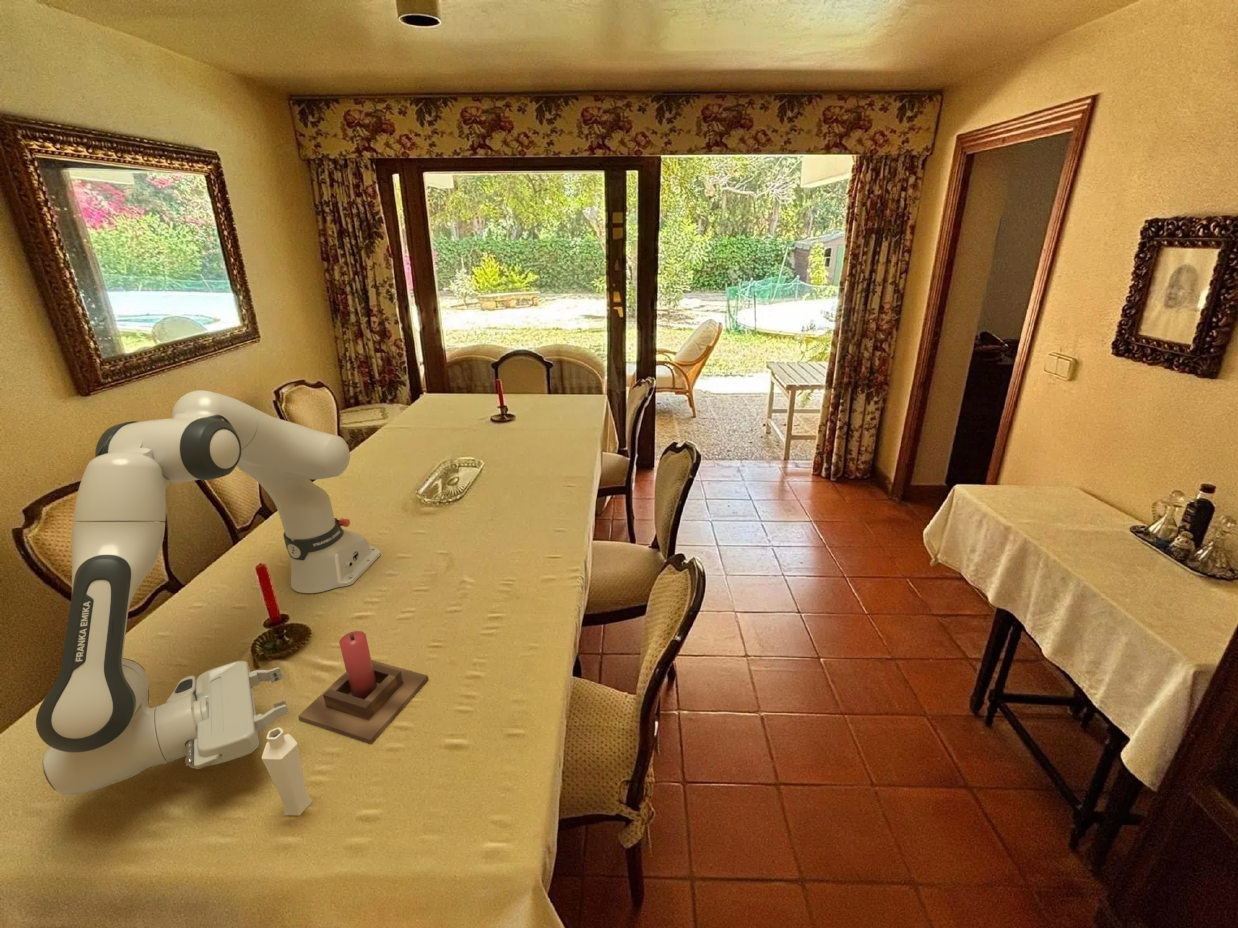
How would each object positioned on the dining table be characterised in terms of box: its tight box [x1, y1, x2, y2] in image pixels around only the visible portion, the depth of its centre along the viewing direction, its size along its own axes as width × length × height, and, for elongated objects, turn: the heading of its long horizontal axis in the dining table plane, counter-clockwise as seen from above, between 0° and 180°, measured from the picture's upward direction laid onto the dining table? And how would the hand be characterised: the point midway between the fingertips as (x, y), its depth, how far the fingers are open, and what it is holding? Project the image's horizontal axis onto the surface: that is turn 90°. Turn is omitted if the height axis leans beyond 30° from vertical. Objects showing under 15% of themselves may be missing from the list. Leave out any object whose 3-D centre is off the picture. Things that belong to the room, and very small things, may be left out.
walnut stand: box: [297, 659, 429, 745], centre depth 108 cm, size 16×16×4 cm
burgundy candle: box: [338, 630, 377, 700], centre depth 106 cm, size 4×4×14 cm
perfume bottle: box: [261, 726, 313, 816], centre depth 86 cm, size 5×4×15 cm
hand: (284, 688), depth 99 cm, fingers open, 8 cm apart
